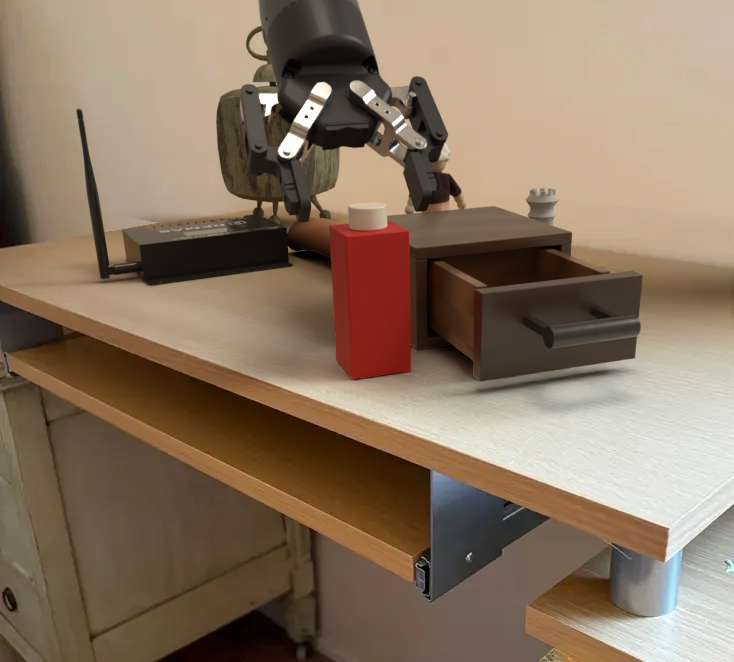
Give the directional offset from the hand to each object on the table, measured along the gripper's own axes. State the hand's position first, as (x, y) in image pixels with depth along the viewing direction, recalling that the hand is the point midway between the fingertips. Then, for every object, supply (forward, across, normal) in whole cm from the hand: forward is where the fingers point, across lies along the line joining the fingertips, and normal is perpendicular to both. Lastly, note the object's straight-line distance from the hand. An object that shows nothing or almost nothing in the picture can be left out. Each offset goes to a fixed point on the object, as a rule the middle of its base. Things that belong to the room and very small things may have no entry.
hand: (366, 210), depth 56 cm
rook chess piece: (-6, +24, +22) cm, 34 cm away
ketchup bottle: (+8, 0, +7) cm, 11 cm away
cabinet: (+2, +10, +14) cm, 17 cm away
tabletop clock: (-33, +6, +49) cm, 60 cm away
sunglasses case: (-15, +8, +31) cm, 35 cm away
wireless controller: (-20, -9, +35) cm, 41 cm away
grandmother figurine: (-13, +16, +29) cm, 35 cm away
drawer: (+10, +10, +4) cm, 15 cm away
